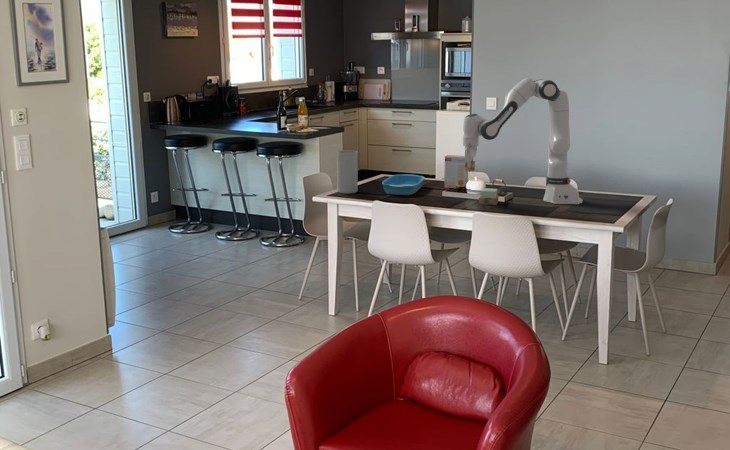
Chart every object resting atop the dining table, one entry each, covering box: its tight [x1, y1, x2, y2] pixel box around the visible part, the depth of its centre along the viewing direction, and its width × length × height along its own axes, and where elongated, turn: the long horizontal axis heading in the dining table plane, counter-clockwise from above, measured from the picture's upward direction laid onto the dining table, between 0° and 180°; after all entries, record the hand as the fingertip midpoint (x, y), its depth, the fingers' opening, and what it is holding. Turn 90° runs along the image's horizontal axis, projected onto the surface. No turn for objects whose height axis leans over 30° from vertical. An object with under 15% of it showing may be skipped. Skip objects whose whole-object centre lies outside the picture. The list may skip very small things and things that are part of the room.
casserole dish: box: [381, 174, 425, 196], centre depth 497 cm, size 37×22×7 cm, turn 163°
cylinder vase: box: [336, 149, 359, 195], centre depth 491 cm, size 12×12×25 cm
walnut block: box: [478, 194, 499, 206], centre depth 464 cm, size 10×10×4 cm
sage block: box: [480, 187, 498, 198], centre depth 463 cm, size 8×8×4 cm
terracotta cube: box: [465, 160, 476, 172], centre depth 462 cm, size 5×5×5 cm
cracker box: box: [443, 154, 469, 190], centre depth 501 cm, size 14×6×21 cm, turn 65°
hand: (470, 166), depth 462 cm, fingers closed on terracotta cube, 5 cm apart
